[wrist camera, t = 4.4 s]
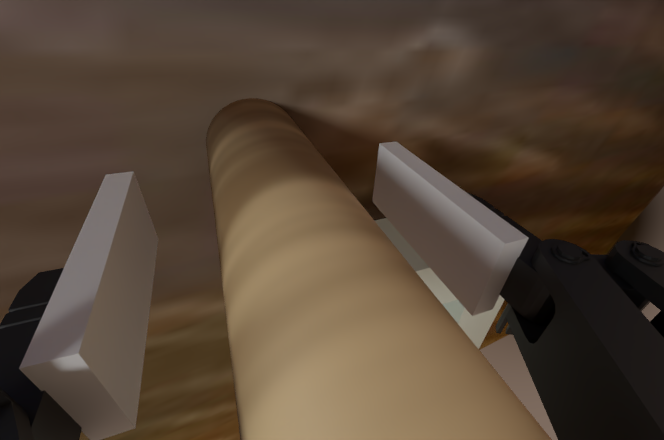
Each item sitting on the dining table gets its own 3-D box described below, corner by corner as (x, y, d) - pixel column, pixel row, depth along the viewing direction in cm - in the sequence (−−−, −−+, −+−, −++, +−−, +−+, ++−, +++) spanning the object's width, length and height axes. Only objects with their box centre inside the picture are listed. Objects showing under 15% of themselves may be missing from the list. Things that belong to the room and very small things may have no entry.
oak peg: (196, 101, 13) (284, 1240, 1) (297, 95, 15) (827, 604, 2) (215, 191, 16) (304, 845, 4) (299, 179, 17) (568, 633, 5)
